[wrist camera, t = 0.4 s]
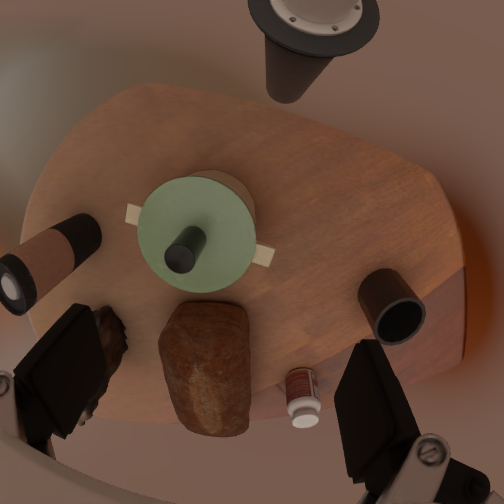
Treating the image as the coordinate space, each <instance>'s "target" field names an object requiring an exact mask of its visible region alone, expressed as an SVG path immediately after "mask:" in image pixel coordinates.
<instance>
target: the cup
mask: <svg viewBox="0 0 504 504" xmlns="http://www.w3.org/2000/svg"><path fill="white" fill-rule="evenodd" d="M358 301H359V303H360V306H361V308H362V310H363V312H364V314H365V316H366V319H367V321H368V323H369V325H370V327H371V329H372V332H373V334H374V336H375V338H376V339H377V340H379V342H380V343H381V344H383V345H390V346H392V345H397V344H401V343H403V342H405V341H407V340H409V339H411V338H412V337H413V336H414V335H415V334H416V333H417V332H418V331H419V329H420V328H421V326H422V325H423V323H424V320H425V316H426V311H425V306H424V304H423V303H422V301H421V300H420V299H419V298H418V296H417V295H416V294H415V292H414V291H413V290H412V289H411V287H410V286H409V285H408V284H407V283H406V281H405V280H404V279H403V278H402V277H401V276H400V274H399V273H398V272H396V271H395V270H392V269H380V270H377V271H375V272H373V273H371V274H370V275H368V276H367V277H366V278H365V279H364V281H363V282H362V284H361V285H360V288H359V291H358Z"/></svg>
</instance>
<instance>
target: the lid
mask: <svg viewBox="0 0 504 504" xmlns="http://www.w3.org/2000/svg"><path fill="white" fill-rule="evenodd" d="M137 236H138V242H139V246H140V249H141V252H142V254H143V257H144V258H145V260H146V262H147V263H148V265H149V266H150V268H151V269H152V270H153V271H154V272H155V273H156V274H157V275H158V276H159V277H160V278H161V279H163V280H164V281H165V282H167V283H168V284H170V285H172V286H174V287H176V288H179V289H181V290H185V291H189V292H196V293H206V292H213V291H218V290H220V289H223V288H225V287H227V286H229V285H231V284H233V283H234V282H236V281H237V280H238V279H239V278H240V277H241V276H242V275H243V274H244V273H245V272H246V270H247V269H248V267H249V265H250V264H251V261H252V259H253V256H254V253H255V248H256V228H255V223H254V220H253V217H252V215H251V212H250V210H249V208H248V207H247V205H246V204H245V202H244V201H243V200H242V198H241V197H240V196H239V195H238V194H237V193H236V192H235V191H234V190H232V189H231V188H229V187H228V186H227V185H225V184H223V183H221V182H219V181H217V180H214V179H212V178H208V177H203V176H184V177H179V178H176V179H173V180H170V181H168V182H166V183H164V184H162V185H161V186H160V187H158V188H157V189H156V190H155V191H154V192H153V193H152V194H151V195H150V196H149V197H148V198H147V200H146V201H145V203H144V205H143V207H142V209H141V212H140V215H139V219H138V226H137Z"/></svg>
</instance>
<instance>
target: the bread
mask: <svg viewBox="0 0 504 504" xmlns="http://www.w3.org/2000/svg"><path fill="white" fill-rule="evenodd" d="M158 346H159V354H160V357H161V361H162V364H163V370H164V375H165V380H166V383H167V385H168V389H169V393H170V397H171V400H172V403H173V405H174V409H175V412H176V414H177V416H178V419H179V420H180V422H181V423H182V424H183V425H184V426H185V427H186V428H187V429H188V430H190V431H192V432H194V433H197V434H201V435H205V436H213V437H233V436H237V435H240V434H242V433H244V432H245V431H246V430H247V429H248V427H249V410H250V405H251V389H250V349H249V321H248V317H247V314H246V313H245V311H244V310H243V309H242V308H240V307H237V306H234V305H229V304H222V303H213V302H192V303H184V304H180V305H179V306H178V307H177V308H176V309H175V311H174V312H173V314H172V315H171V317H170V319H169V321H168V323H167V325H166V326H165V328H164V329H163V331H162V332H161V335H160V338H159V341H158Z"/></svg>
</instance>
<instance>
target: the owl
mask: <svg viewBox="0 0 504 504" xmlns="http://www.w3.org/2000/svg"><path fill="white" fill-rule="evenodd" d="M94 316H95V320H96V324H97V328H98V332H99V336H100V340H101V343H102V347H103V351H104V354H105V357H106V361H107V371H106V373H105V374H104V376H103V378H102V379H101V381H100V383H99V385H98V386H97V388H96V390H95V392H94V393H93V395H92V397H91V399H90V400H89V402H88V404H87V406H86V408H85V409H84V411H83V413H82V415H81V417H80V419H79V420H78V425H79V426H82V425H84V424H85V421H86V420H88V419H90V418H91V417H92V416H93V415H92V413H93V411H94V410H95V409H96V408H97V406H98V400H99V399H100V398H101V397H102V396H103V395H104V393H105V392H106V390H107V387H108V383H109V380H110V377H111V376H112V375H113V374H114V373H115V372H116V370H117V368H118V367H119V365H120V363H121V358H122V355H123V353H124V352H125V351H126V350H127V349H128V346H127V344H126V342H125V339H127V337H126V335H125V333H124V330H125V329H126V328H125V326H124V325H123V323H122V321H121V320H120V319H119V318H118V317H117V316H116V314H115V313H114V312H113V310H112V308H111V307H110V306H104V307H102V308H101V309H100V310H98V311H97V310H95V311H94Z"/></svg>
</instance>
